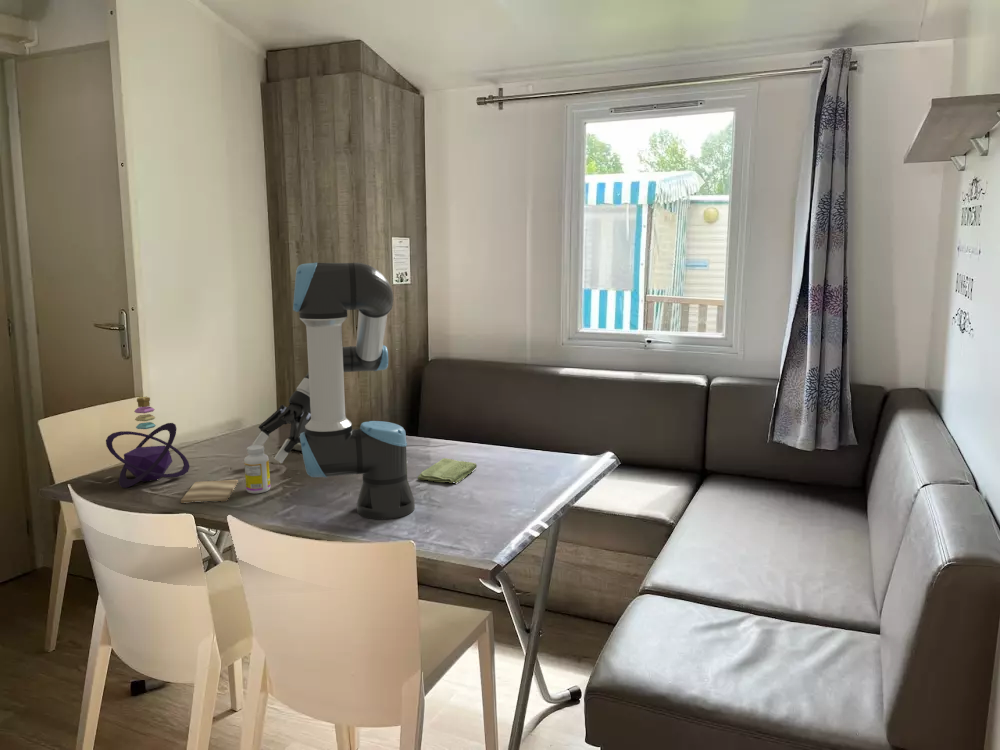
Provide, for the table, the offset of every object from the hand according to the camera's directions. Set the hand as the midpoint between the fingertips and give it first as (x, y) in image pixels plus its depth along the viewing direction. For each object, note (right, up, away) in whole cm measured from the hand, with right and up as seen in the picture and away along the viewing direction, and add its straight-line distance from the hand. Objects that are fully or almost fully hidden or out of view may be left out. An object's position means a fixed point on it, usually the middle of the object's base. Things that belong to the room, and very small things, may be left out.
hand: (264, 456), depth 212 cm
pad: (-14, -10, -4) cm, 18 cm away
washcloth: (+52, -8, +12) cm, 54 cm away
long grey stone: (+9, -3, +38) cm, 39 cm away
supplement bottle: (-1, -10, -2) cm, 10 cm away
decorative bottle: (-37, -8, +10) cm, 40 cm away
